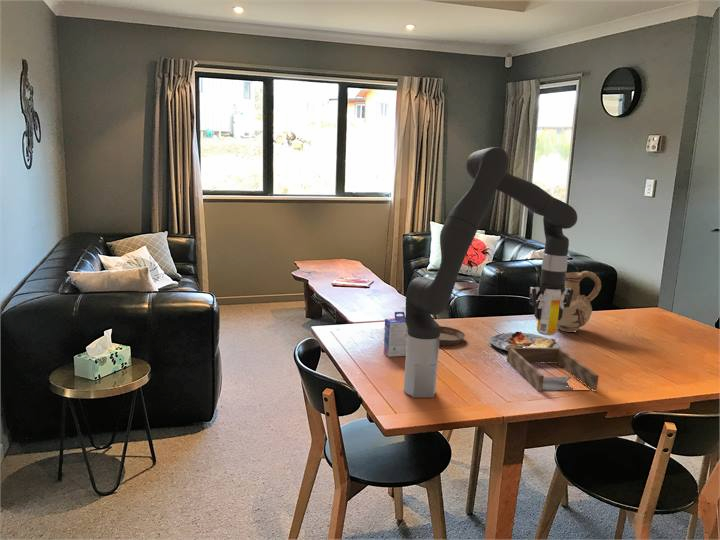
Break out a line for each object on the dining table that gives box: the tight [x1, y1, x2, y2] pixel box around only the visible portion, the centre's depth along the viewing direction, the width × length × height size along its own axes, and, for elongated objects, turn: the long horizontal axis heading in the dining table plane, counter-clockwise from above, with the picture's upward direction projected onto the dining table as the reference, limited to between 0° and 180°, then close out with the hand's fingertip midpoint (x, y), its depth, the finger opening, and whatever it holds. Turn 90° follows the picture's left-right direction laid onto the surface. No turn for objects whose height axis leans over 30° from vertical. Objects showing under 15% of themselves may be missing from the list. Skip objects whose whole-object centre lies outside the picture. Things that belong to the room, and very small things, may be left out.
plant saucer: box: [439, 325, 466, 347], centre depth 217 cm, size 18×18×3 cm
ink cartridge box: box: [383, 311, 408, 358], centre depth 198 cm, size 10×6×14 cm, turn 109°
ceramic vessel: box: [557, 270, 602, 333], centre depth 235 cm, size 18×19×25 cm
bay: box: [506, 347, 600, 393], centre depth 185 cm, size 25×18×5 cm
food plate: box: [488, 331, 562, 352], centre depth 212 cm, size 25×23×4 cm
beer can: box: [536, 289, 561, 337], centre depth 187 cm, size 6×6×15 cm
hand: (547, 319), depth 187 cm, fingers closed on beer can, 6 cm apart
